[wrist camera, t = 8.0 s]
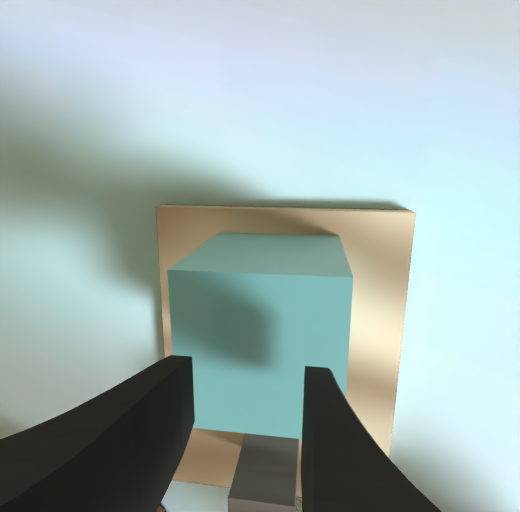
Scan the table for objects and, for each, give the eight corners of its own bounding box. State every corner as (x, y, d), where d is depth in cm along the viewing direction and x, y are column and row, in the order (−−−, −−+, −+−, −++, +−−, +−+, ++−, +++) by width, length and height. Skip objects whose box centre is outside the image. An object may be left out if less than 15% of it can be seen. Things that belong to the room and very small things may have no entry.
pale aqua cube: (333, 347, 18) (342, 443, 12) (222, 339, 19) (176, 426, 13) (339, 235, 17) (353, 277, 11) (220, 232, 18) (167, 269, 11)
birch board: (380, 492, 21) (408, 629, 15) (178, 466, 23) (126, 581, 16) (410, 210, 17) (463, 236, 11) (163, 204, 19) (89, 224, 13)
